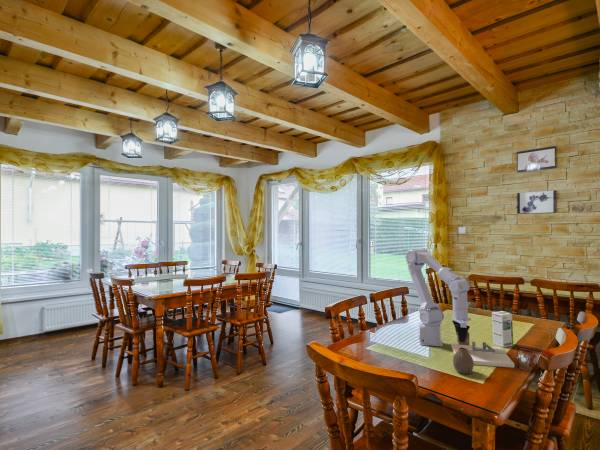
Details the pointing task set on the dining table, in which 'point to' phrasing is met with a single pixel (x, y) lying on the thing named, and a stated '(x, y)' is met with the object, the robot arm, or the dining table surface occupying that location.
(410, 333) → the dining table surface
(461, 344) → the walnut block
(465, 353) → the vase
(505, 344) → the syrup box
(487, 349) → the bent wire
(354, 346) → the dining table surface
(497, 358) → the board
